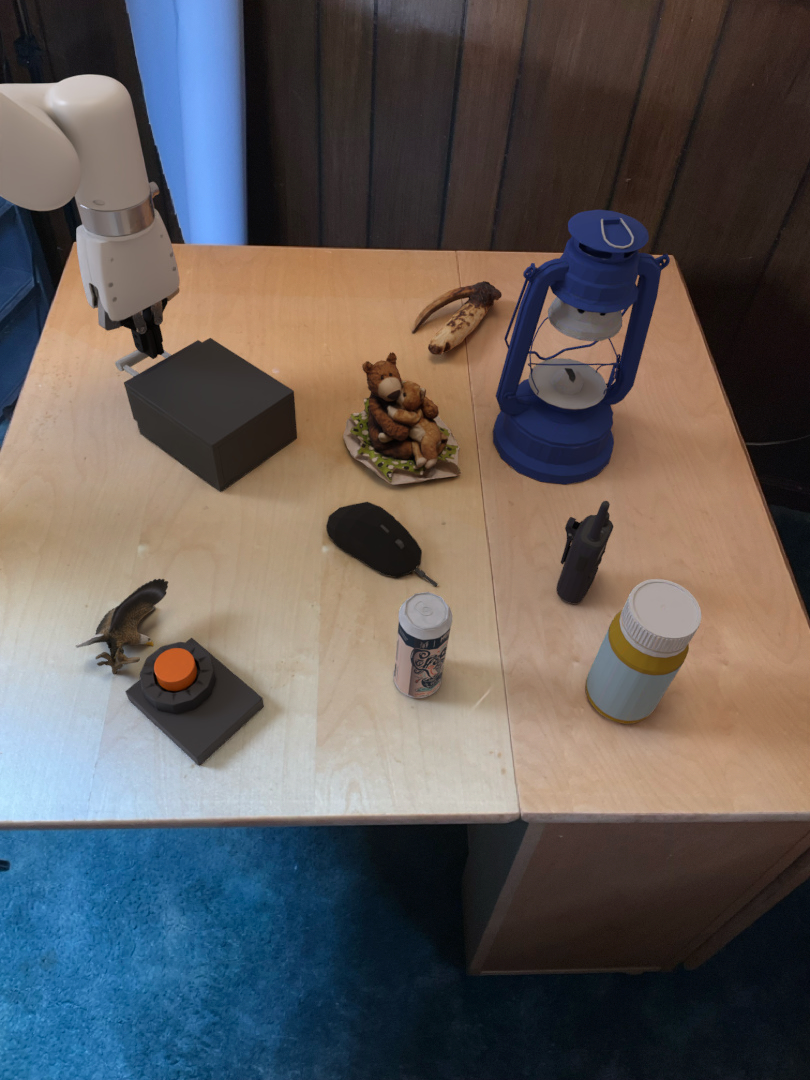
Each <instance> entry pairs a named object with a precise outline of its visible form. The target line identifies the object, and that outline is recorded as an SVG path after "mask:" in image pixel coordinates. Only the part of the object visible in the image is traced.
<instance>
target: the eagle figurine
mask: <svg viewBox="0 0 810 1080" xmlns="http://www.w3.org/2000/svg"><path fill="white" fill-rule="evenodd" d="M168 587H169V581H168V580H165V579H164V578H154V579H153V580H149V581H148V582H146V583H144V584H141V586H139V587H137V589H135V590H134V591H133V592H131V594H129V595H128V596H126V598H124V599H123V601H121V602H120V603H119V604H118V605H117V606H116V607H113V608H111V609H110V610H109V611H108V612H106V614H105V615H104V616H103V617H102V619H101V620H100V623H99V624H98V625H97V627H96V630H95V633H94V634H95V635H93V636H91V637H89V638H87V639H85V640H83V641H81V642H80V643H77V644H75V648H77V649H80V648H83V647H89V646H91V645H93V644H98V643H100V644H101V643H106V645H107V648H108V650H109V652H107V651H102V652H101V653H99V654H97V655H96V656H95V660H98V659H105V660H101V661H98V662H97V663H96V666H98V667H102V666H110V668H111V674H113V675H115V674H116V673H117V672H118V671H119V670H121V669H122V667H123V666H124V665H129V664H134V663H138V662H139V661H141V658H140V657H139V656H132V657H128V656H127V655H126V654H124V653H125V650H124V648H123V647H124V646H135V645H148V646H151V647H154V646H155V644H154V642H153V640H152V638H151V637H149V636H148V635H146V634H142V633H140V632H139V631H138V626H139V623H140V622H141V620H142V619H143V618H144V617H146V616H147V615H148V614H149V613H151V612H152V611H153V610H155V609H156V607H155V606H156V605H157V604H159V603H160V602H161V601H162V600H163V599H164V598H165V596H166V595H167V589H168Z"/></svg>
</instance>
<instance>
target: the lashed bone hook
mask: <svg viewBox="0 0 810 1080" xmlns="http://www.w3.org/2000/svg"><path fill="white" fill-rule="evenodd" d="M501 298H502V291H501V290H500V289H498V288H496V287H495V285H493V284H491V283H490V282H489V281H485V280H483V281H480V282H476V283H474V284H471V285H465V286H460V287H456V288H453V289H451V290H448V291H445V292H444V293H442V294H440V295H439V296H438V297H436V298H434V299H433V300H432V301H430V302H429V303H428V304H427V305H426V306H425V307H424V308H423V309H422V310H421V311H420V313H419V314H418V316H417V317H416V319H415V320H414V323H413V326H412V329H411V333H412V334H414V333H416V332H417V331H418V330H419V329H420V327H421V326H422V325H423V324H424V323H425V322H426V321H427V320H428V318H430V316H432V315H433V314H434V313H436V312H437V311H439V310H441V309H443V308H444V307H446V306H447V305H449V304H452V303H453V302H456V301H460V300H464V299H467V300H466V301H465V302H464V303H463V305H462V306H461V307H460V308H459V309H458V310H457V311H456V312H455V313H453V315H452V316H451V317H450V319H448V321H447V322H446V323H445V324H444V325H443V326H442V328H441V329H440V330H439V331H438V332H436V333H435V334H434V336H433V337H432V338H431V339H430V342H429V344H428V346H427V349H428V351H429V353H430V354H432V355H435V356H439V355H441V354H442V355H443V354H444V353H447V352H449V351H451V350H452V349H453V348H455V347H457V346H458V345H460V344H461V343H462V342H464V340H465V338H467V336H468V335H470V334H471V333H472V332H473V331H474V330H475V329H476V328H477V327H478V326H479V324H480V323H481V322H482V321H483V318H484V317H485V316H486V315H488V311H489V310H490V308H491V307H492V306H493V305H494V303H495V301H499V300H500V299H501Z"/></svg>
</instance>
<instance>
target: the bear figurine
mask: <svg viewBox="0 0 810 1080" xmlns="http://www.w3.org/2000/svg"><path fill="white" fill-rule="evenodd" d="M397 359H398V357H397V354H396V353H394V351H392V352H391V351H390V352H389V353H388V355H387V358H386V360H382V359H381V360H378V361H376V362H375V363H372V362H370V361H368V360H367V361H365V362H363V363H362V365H361V368H362V371H363V372H364V373H365V374H366V381H367V382H366V383H367V389H368V391H369V392H370V394H369V396H368V397H366V398H365V397H364V398H363V405H364V409H363V410H362V411H361V412H354V413H351V414H350V415H349V418H347V420H346V422H345V427H344V431H343V435H342V438H343V441H344V444H345V446H346V448H347V451H348V452H349V455H350V456H351V457H352V458H353V459H354V460H357V461H359V462H360V463H362V464H363V465H364V466H366V468H368V469H369V470H370V471H371V472H373V473H374V474H376V475H377V476H378V477H380V478H381V479H383V480H384V481H385V482H387V483H388V484H389V485H405V484H413V483H422V482H425V481H428V480H435V479H444V478H451V477H457V476H458V477H459V476H460V475H462V472H461V469H460V468H459V465H458V463H459V451H460V449H461V447H460V445H459V443H458V442H457V440H456V438H455V436H454V435H453V432H452V429H450V427H448V425H446V423H445V422H444V421H443V420H442V418H441V417H440V416H439V413H440V412H439V406H438V405H437V404H436V403H435V402H434V401H433V400H432V399H430V398H429V397H428V396H426V394H427V390H426V389H427V388H425V387H421V385H419V384H418V383H417V382H414V381H412V380H402V377H401V374H400V372H399V369H398V367H397Z"/></svg>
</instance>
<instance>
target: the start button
mask: <svg viewBox="0 0 810 1080" xmlns="http://www.w3.org/2000/svg"><path fill="white" fill-rule="evenodd" d="M154 671H155V674H156V677H157V680H158V682H159V684H160V685H161V686H162V687H163V688H164V689H166V690H169V691H180V690H183V689H185V688H187V687H189V686H190V685H191V684H192V683H193V682H194V680H195V678H196V676H197V668H196V664H195V661H194V657H193V656H192V654H191V653H190V652H189V651H187V650H185V649H181V648H173V649H169V650H167V651H165V652H163V653H162V654H161V655H160V656H159V657H158V658H157V659H156V661H155V664H154Z"/></svg>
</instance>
